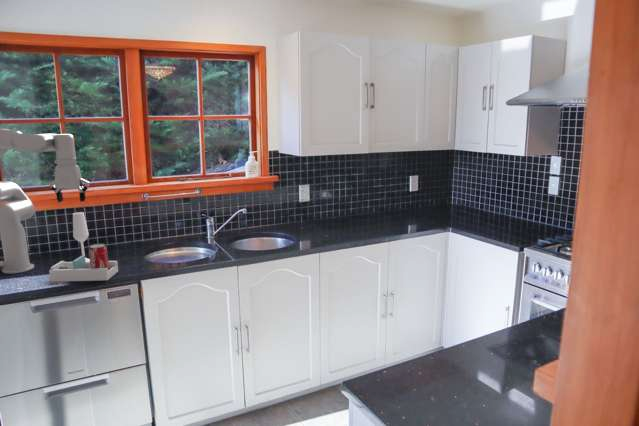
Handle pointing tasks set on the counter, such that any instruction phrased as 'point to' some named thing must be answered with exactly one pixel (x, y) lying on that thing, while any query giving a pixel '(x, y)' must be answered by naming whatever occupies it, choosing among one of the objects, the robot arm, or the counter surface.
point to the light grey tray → (81, 272)
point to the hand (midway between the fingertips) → (71, 201)
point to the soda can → (98, 256)
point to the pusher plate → (79, 263)
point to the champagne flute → (80, 230)
